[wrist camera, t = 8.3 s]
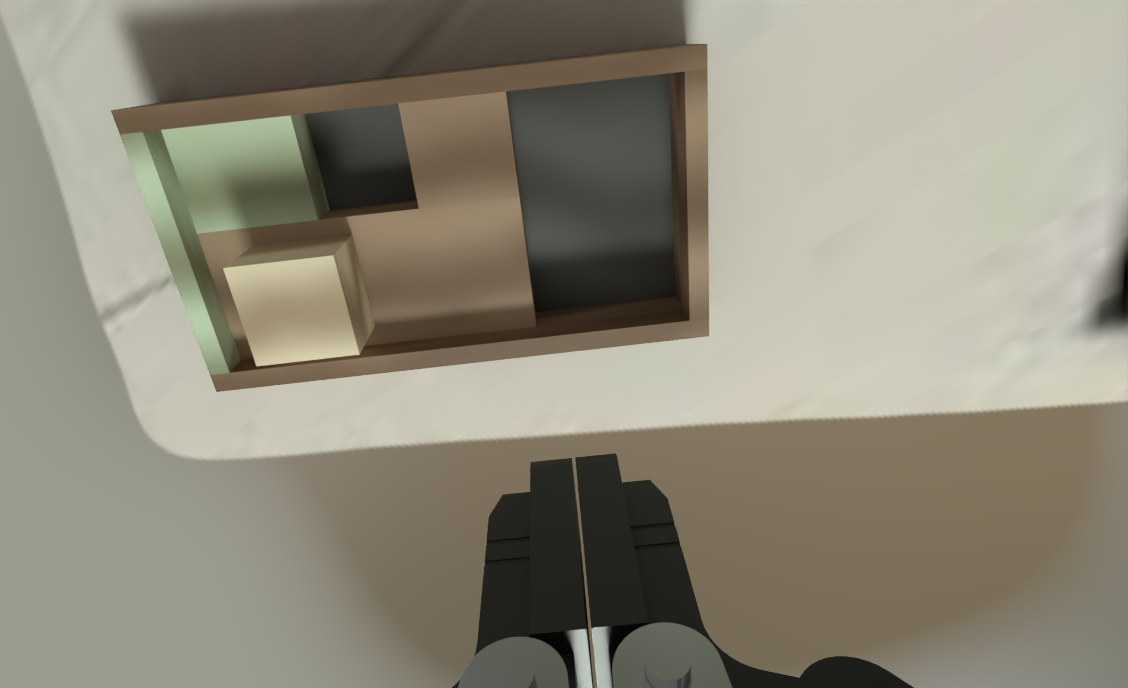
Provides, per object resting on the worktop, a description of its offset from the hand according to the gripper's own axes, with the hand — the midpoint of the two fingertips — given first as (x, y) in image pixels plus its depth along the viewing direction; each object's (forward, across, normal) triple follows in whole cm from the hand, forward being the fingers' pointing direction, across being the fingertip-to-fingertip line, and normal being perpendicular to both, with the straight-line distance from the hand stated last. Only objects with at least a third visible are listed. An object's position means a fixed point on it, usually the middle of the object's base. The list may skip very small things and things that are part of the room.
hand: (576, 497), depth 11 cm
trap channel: (+25, +6, +1) cm, 26 cm away
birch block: (+23, +12, +4) cm, 26 cm away
